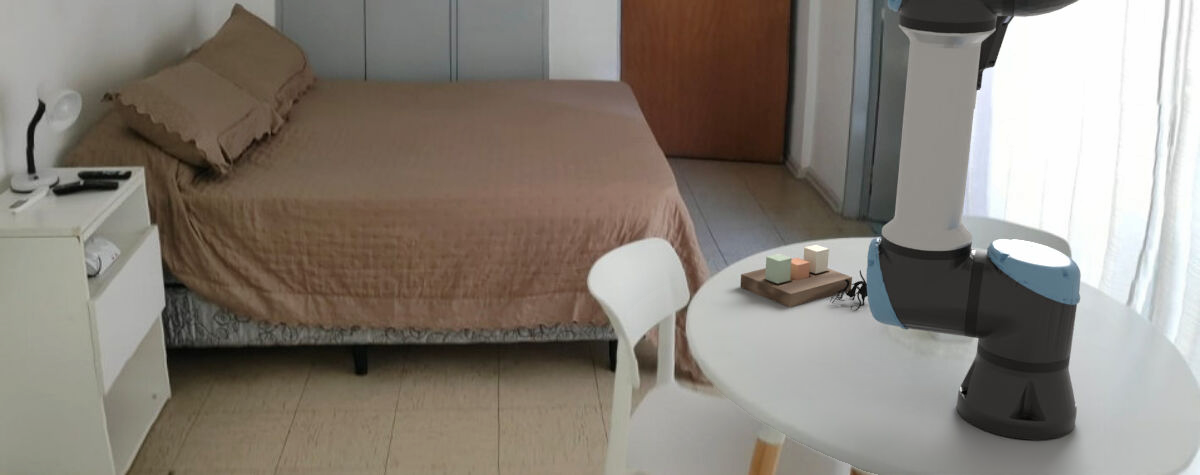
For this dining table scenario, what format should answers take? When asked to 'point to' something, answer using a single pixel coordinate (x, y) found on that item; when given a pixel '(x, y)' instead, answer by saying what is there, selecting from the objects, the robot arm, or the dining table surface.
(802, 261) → the button terracotta
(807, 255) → the button cream
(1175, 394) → the dining table surface
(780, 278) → the button sage
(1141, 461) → the dining table surface
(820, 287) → the panel
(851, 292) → the creature
